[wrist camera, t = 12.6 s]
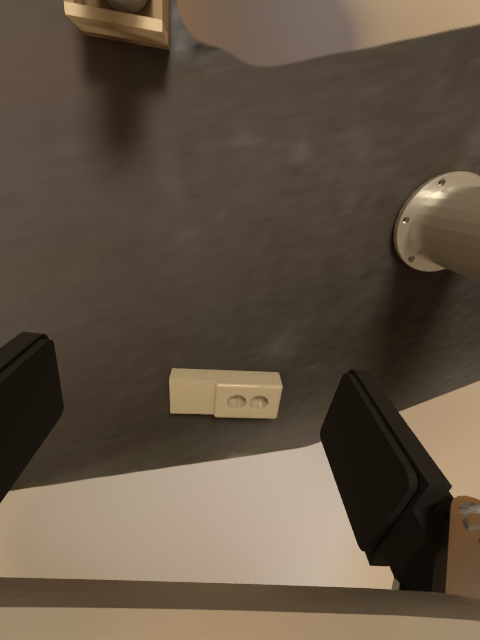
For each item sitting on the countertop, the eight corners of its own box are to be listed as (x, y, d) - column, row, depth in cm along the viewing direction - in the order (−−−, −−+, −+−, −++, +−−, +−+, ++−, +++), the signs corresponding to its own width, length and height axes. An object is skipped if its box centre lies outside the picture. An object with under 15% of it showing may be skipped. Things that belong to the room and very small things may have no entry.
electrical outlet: (168, 383, 43) (283, 386, 45) (172, 367, 47) (279, 371, 48) (169, 417, 46) (277, 419, 48) (173, 400, 50) (273, 402, 51)
